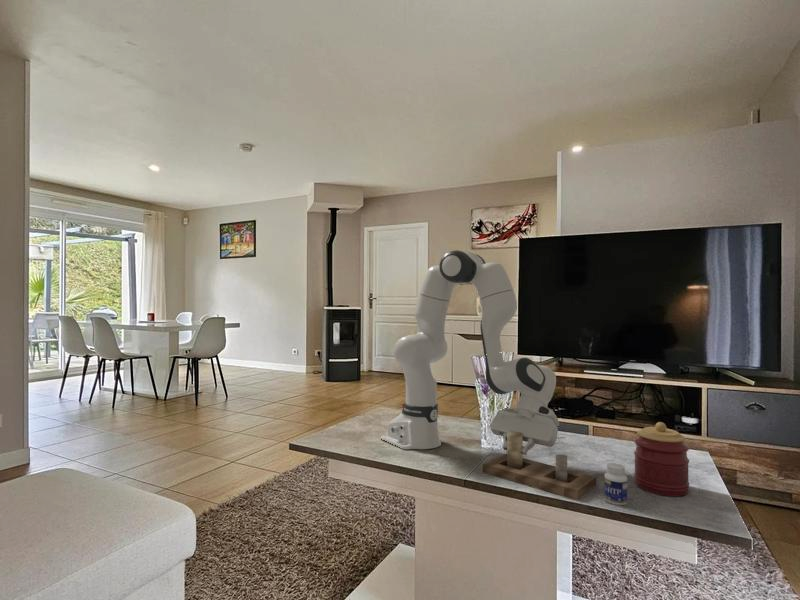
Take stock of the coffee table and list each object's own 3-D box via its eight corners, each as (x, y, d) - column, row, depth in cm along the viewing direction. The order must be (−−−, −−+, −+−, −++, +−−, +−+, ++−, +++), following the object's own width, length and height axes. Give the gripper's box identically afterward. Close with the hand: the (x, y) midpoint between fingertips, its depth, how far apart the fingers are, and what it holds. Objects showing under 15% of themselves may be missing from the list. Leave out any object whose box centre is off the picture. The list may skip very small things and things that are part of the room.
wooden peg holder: (482, 472, 132) (482, 444, 132) (505, 461, 142) (505, 436, 142) (577, 500, 113) (577, 468, 113) (596, 486, 122) (596, 456, 123)
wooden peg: (504, 467, 132) (504, 433, 132) (511, 463, 135) (511, 430, 135) (517, 471, 129) (518, 436, 129) (525, 467, 132) (525, 433, 132)
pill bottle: (600, 500, 113) (600, 465, 113) (608, 495, 117) (608, 460, 117) (623, 507, 109) (623, 470, 109) (630, 501, 113) (630, 465, 113)
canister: (695, 488, 121) (695, 423, 122) (680, 502, 113) (679, 431, 113) (644, 475, 131) (644, 414, 132) (626, 486, 122) (626, 421, 123)
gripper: (496, 401, 145) (479, 437, 137) (558, 411, 131) (542, 453, 123) (503, 412, 148) (487, 449, 140) (564, 424, 134) (549, 465, 126)
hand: (513, 451), depth 132 cm, fingers closed on wooden peg, 4 cm apart
